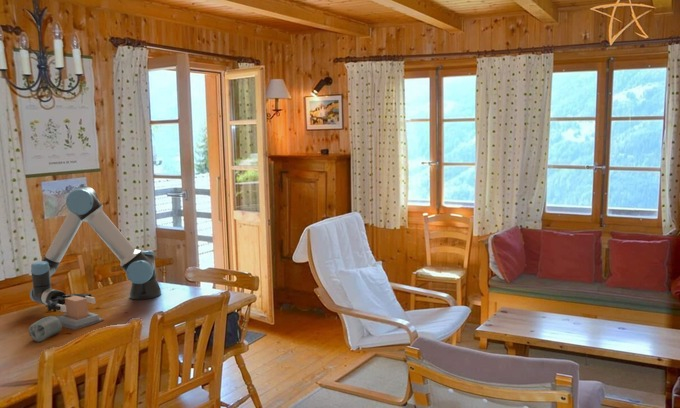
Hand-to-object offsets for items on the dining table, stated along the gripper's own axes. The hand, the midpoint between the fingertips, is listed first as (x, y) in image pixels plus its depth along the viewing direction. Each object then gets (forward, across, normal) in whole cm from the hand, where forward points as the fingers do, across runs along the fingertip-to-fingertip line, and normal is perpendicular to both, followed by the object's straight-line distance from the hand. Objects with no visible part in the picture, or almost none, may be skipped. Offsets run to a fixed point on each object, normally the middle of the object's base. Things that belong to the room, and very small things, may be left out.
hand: (80, 304), depth 257 cm
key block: (-3, 0, -8) cm, 8 cm away
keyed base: (-3, 0, -8) cm, 9 cm away
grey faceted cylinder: (+4, +18, -9) cm, 20 cm away
